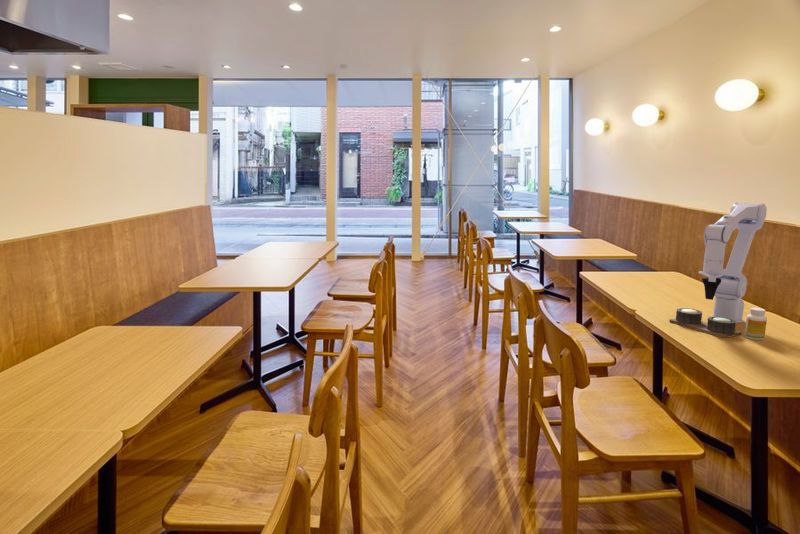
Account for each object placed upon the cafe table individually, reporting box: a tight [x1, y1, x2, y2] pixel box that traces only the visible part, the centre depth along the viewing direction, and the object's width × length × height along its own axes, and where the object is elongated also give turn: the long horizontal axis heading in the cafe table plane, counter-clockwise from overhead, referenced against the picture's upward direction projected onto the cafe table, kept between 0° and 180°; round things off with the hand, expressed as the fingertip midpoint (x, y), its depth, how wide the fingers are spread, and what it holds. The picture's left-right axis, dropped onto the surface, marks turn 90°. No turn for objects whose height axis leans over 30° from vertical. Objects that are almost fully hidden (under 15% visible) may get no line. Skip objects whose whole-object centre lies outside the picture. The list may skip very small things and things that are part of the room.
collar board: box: [669, 307, 742, 339], centre depth 177 cm, size 9×20×4 cm, turn 23°
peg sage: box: [713, 318, 731, 322], centre depth 171 cm, size 5×5×4 cm
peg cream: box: [681, 308, 697, 313], centre depth 182 cm, size 5×5×4 cm
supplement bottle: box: [744, 307, 768, 341], centre depth 165 cm, size 5×5×10 cm
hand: (709, 299), depth 175 cm, fingers closed
